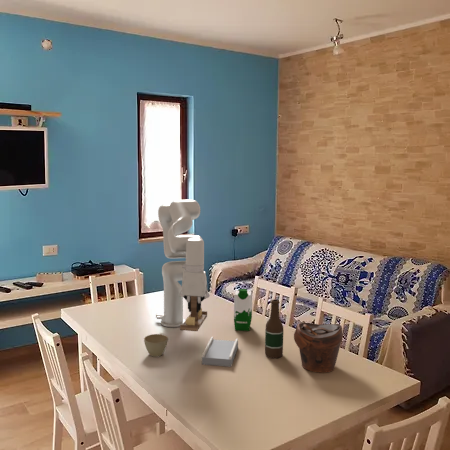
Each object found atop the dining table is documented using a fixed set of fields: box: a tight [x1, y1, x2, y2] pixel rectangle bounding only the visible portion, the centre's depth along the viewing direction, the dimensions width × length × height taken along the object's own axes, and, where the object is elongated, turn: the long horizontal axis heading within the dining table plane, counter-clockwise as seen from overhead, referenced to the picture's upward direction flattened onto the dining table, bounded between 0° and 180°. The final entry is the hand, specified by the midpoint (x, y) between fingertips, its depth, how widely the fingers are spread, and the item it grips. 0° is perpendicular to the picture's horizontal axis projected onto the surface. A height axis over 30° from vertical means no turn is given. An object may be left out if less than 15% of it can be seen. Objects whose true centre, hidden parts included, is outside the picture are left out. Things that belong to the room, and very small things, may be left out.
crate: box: [185, 316, 195, 325], centre depth 197 cm, size 3×3×3 cm
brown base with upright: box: [179, 296, 208, 332], centre depth 202 cm, size 19×7×14 cm, turn 170°
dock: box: [201, 336, 239, 368], centre depth 204 cm, size 12×20×4 cm, turn 171°
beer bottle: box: [264, 299, 284, 359], centre depth 204 cm, size 8×8×24 cm
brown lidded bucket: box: [293, 322, 344, 374], centre depth 194 cm, size 18×20×18 cm
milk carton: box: [233, 288, 253, 332], centre depth 236 cm, size 9×9×20 cm
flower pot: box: [143, 333, 169, 358], centre depth 204 cm, size 10×10×7 cm
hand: (194, 310), depth 203 cm, fingers closed on brown base with upright, 2 cm apart
